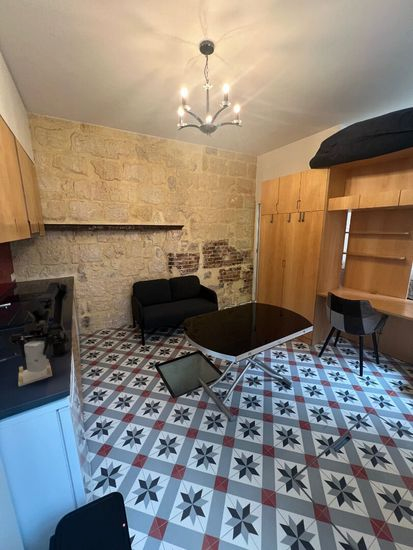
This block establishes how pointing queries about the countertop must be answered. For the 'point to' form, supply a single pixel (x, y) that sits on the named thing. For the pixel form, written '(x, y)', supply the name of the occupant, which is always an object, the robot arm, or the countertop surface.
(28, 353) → the skincare box
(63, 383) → the countertop surface
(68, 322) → the countertop surface
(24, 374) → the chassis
